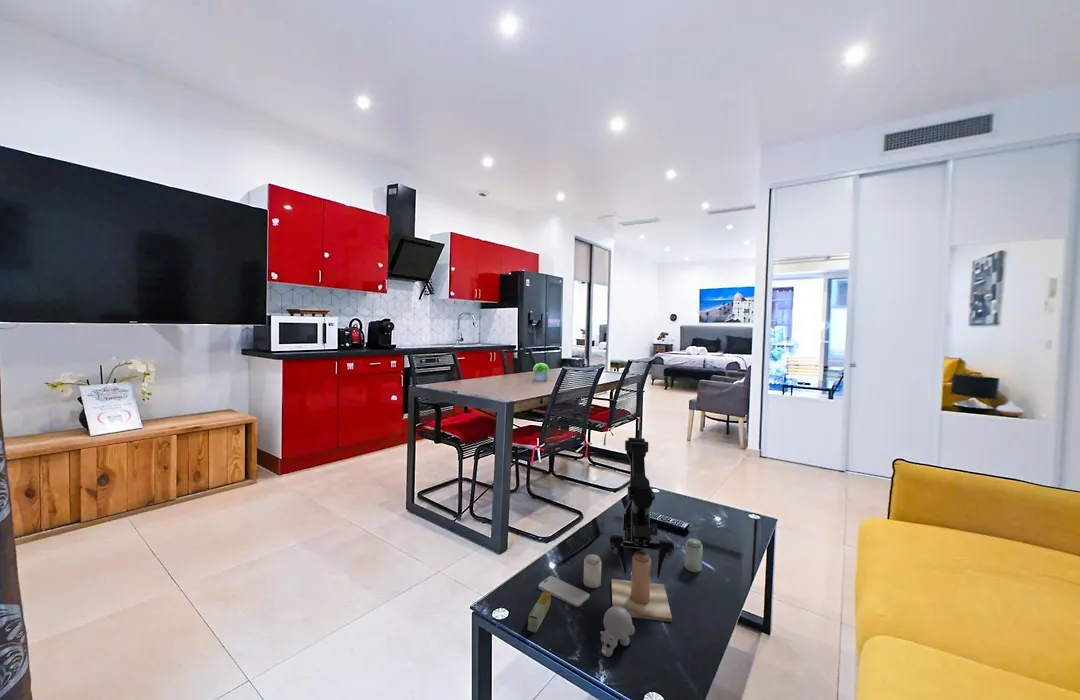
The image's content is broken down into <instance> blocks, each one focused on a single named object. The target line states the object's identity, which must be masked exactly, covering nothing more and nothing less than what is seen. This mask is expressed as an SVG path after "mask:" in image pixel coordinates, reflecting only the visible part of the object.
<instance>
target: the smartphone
mask: <svg viewBox="0 0 1080 700" xmlns="http://www.w3.org/2000/svg"><path fill="white" fill-rule="evenodd" d="M537 587H538V589H539V590H541V591H542V592H545V593H549V594H551V596H553V597H555V598H557V599H559V600H561V601H563V602H565V603H568V604H570V605H572V606H574V607H576V608H578V607H581V606H582V605H583V604H584V603H585V602H586V601H588V600H589V599H590V597H591V594H590V593H589V592H587V591H585V590H583V589H580V588H579V587H576V586H574V585H572V584H571V583H568V582H566V581H563V580H561V578H557V577H555V576H553V575H548V576H547V577H546V578H544V579H543V580H542V581H541V582H540V583H538V586H537Z"/></svg>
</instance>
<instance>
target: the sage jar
mask: <svg viewBox="0 0 1080 700" xmlns="http://www.w3.org/2000/svg"><path fill="white" fill-rule="evenodd" d="M703 546H704V545H703V544H702V542H701V541H700V540H699V539H697V538H688V539H687V540H686V542H685V549H684V552H685V553H684V568H685V569H686V570H687V571H689V572H691V573H700V572H702V566H703V565H702V564H703V549H704V548H703Z"/></svg>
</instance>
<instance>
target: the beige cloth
mask: <svg viewBox="0 0 1080 700" xmlns="http://www.w3.org/2000/svg"><path fill="white" fill-rule="evenodd" d="M611 600H612V601H611V603H612V606H611V607H613V606H620V607H622V608H625V609H626V610H627V611H628V613H629V614H630V616H631V618H636V619H645V620H652V621H653V620H654V621H660V622H661V621H662V622H670V623H672V622H673V616H672V612H671V608H670V604H669V600H668V595H667V590H666V587H665V584H662V583H654V582H653V583H652V582H650V601H649V603H647V604H638V603H635V602H634V601H632V600H631V580H624V579H616V578H615V579H614V578H611Z"/></svg>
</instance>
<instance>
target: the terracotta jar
mask: <svg viewBox="0 0 1080 700" xmlns="http://www.w3.org/2000/svg"><path fill="white" fill-rule="evenodd" d="M651 570H652V558H651V557H650V554H649V553H648V552H646V551H641V550H637V551H635V552H634V553H633V555H632V558H631V579H630V581H631V600H632V601H634V602H635V603H638V604H647V603H649V601H650V583H651V572H652V571H651Z"/></svg>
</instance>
